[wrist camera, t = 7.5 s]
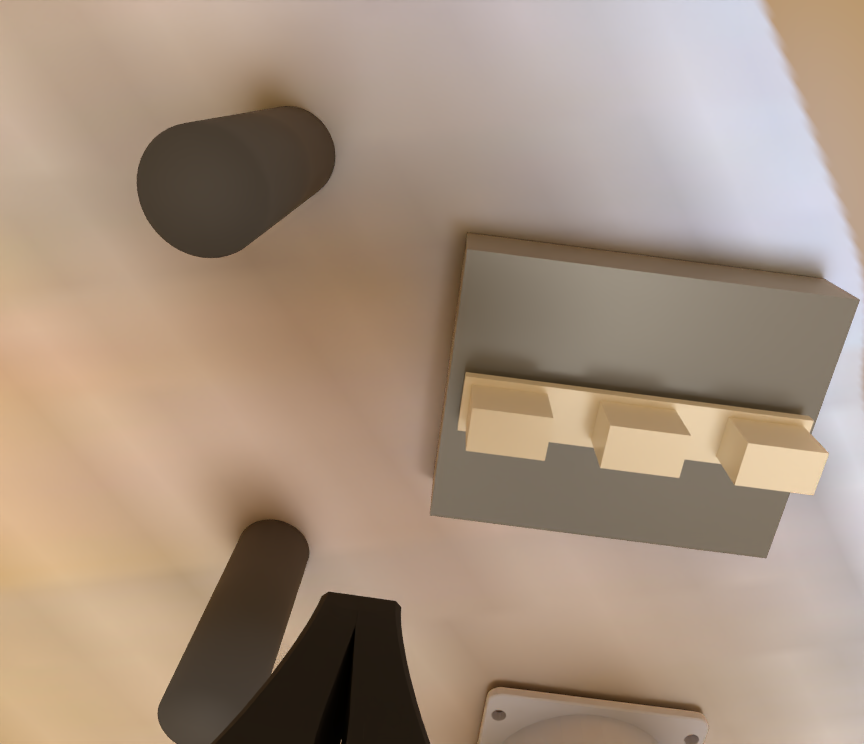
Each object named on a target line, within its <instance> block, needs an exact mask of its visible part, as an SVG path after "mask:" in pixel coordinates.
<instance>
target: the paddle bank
mask: <svg viewBox="0 0 864 744" xmlns="http://www.w3.org/2000/svg"><path fill="white" fill-rule="evenodd" d="M813 422H814V421H813V419H812V418H811V417H810V416H806V415H798V414H790V413H782V412H774V411H767V410H759V409H751V408H743V407H736V406H728V405H720V404H712V403H704V402H697V401H689V400H681V399H673V398H665V397H658V396H650V395H642V394H634V393H626V392H619V391H611V390H603V389H595V388H587V387H580V386H572V385H564V384H556V383H548V382H541V381H533V380H525V379H517V378H509V377H502V376H494V375H486V374H478V373H470V372H466V373H465V379H464V386H463V393H462V399H461V406H460V413H459V420H458V431H466V451H471V452H479V453H487V454H494V455H502V456H510V457H518V458H526V459H534V460H541V461H545V458H546V453H547V448H548V443H549V442H552V443H560V444H568V445H576V446H584V447H591V448H594V451H595V454H596V457H597V460H598V463H599V466H600V468H604V469H612V470H620V471H627V472H635V473H643V474H651V475H659V476H667V477H674V478H679V477H680V474H681V470H682V467H683V463H684V460H693V461H701V462H709V463H716V464H721V465H722V466H723V468H724V470H725V471H726V473H727V474H728V476H729V477H730V479H731V481H732V482H733V484H734V485H737V486H745V487H753V488H760V489H768V490H776V491H784V492H792V493H800V494H807V495H814V492H815V490H816V487H817V484H818V482H819V479H820V476H821V474H822V471H823V468H824V466H825V463H826V460H827V458H828V455H829V453H828V452H827V451H826V450H825V449H824V448H823V447H822V445H821V444H820V443H819V442H818V441H817V440H816V439H815V438H814V437H813V436H812V435H811V434H810V430H811V428H812V425H813Z"/></svg>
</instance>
